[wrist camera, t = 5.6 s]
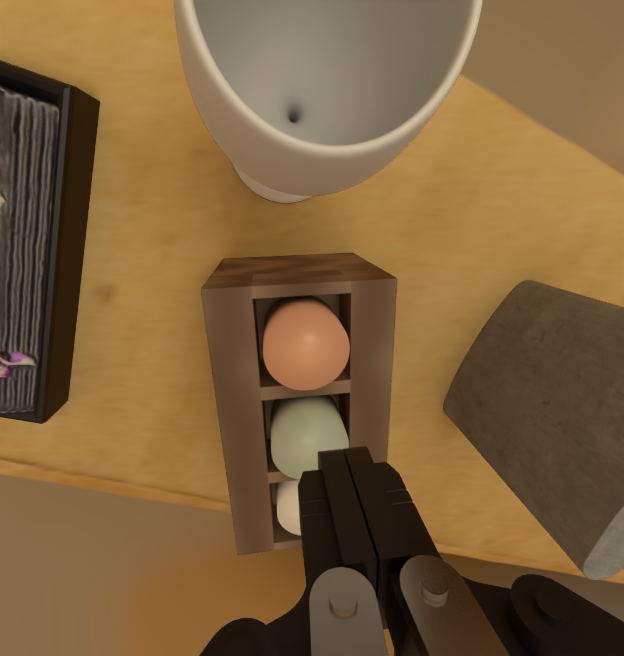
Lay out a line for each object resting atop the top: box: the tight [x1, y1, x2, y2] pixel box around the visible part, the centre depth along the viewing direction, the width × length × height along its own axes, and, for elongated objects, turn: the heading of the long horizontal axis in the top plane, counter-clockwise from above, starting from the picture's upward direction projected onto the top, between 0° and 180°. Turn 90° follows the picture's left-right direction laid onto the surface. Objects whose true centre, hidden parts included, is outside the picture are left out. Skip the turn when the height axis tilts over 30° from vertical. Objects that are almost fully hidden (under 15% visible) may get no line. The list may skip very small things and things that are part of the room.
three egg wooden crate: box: [201, 253, 397, 555], centre depth 28 cm, size 11×20×11 cm, turn 1°
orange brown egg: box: [263, 295, 350, 390], centre depth 21 cm, size 5×5×4 cm
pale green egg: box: [270, 394, 349, 480], centre depth 23 cm, size 5×5×4 cm
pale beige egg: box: [276, 480, 301, 535], centre depth 27 cm, size 5×5×4 cm
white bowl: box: [174, 0, 483, 203], centre depth 17 cm, size 9×9×21 cm
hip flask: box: [443, 280, 624, 580], centre depth 26 cm, size 16×4×20 cm, turn 156°
